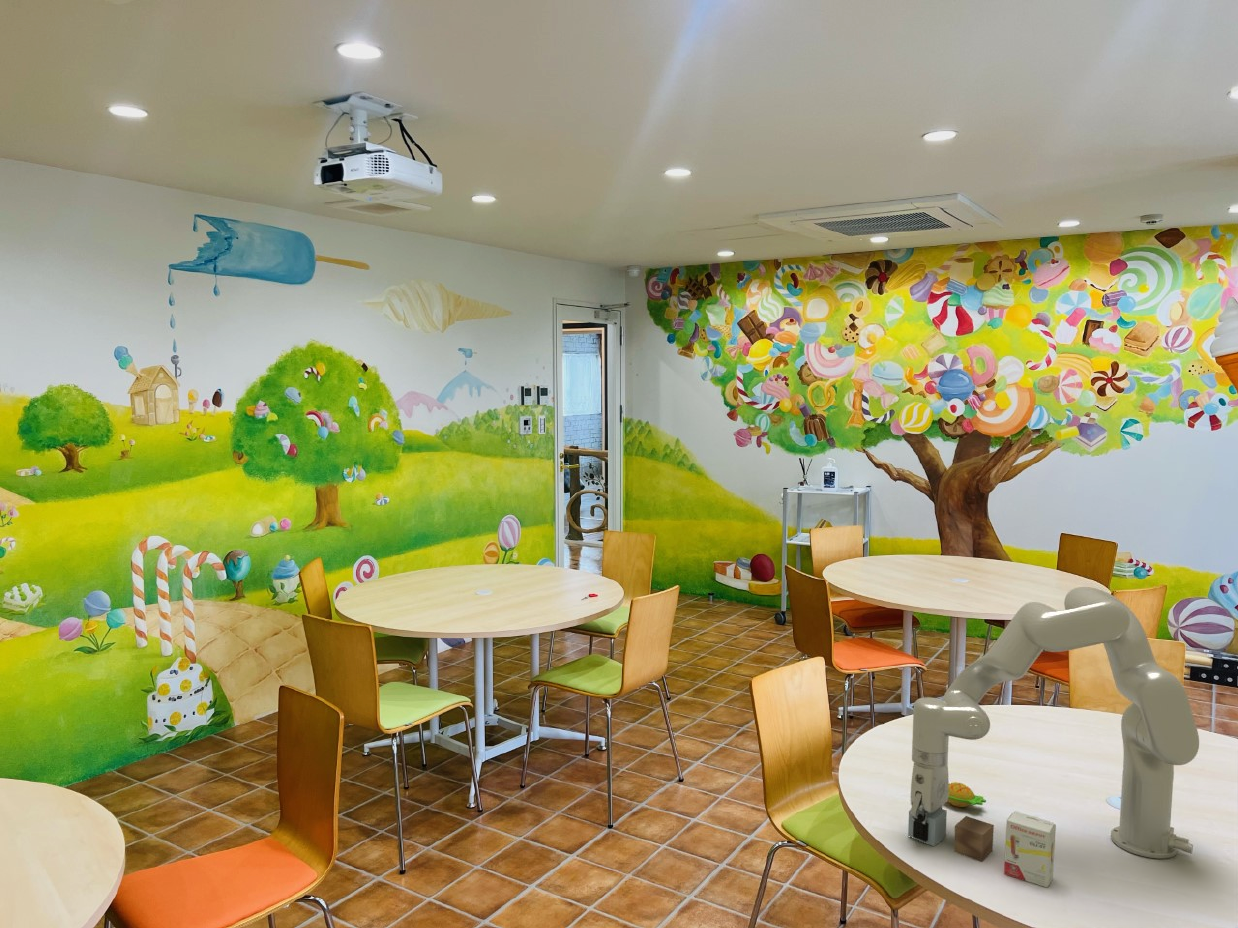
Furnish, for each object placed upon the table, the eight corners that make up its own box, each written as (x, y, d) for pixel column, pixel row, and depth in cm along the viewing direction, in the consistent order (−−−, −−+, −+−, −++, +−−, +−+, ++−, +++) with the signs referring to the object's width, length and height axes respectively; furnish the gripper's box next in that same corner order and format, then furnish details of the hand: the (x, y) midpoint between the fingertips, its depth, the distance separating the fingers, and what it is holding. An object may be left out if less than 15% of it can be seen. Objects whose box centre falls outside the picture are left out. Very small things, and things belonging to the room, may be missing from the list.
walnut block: (992, 851, 193) (993, 824, 192) (981, 862, 188) (983, 834, 188) (964, 841, 197) (966, 815, 196) (953, 851, 192) (954, 825, 192)
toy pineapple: (947, 795, 219) (948, 774, 219) (989, 808, 212) (990, 786, 212) (936, 804, 214) (937, 783, 213) (978, 818, 207) (979, 796, 207)
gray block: (945, 836, 199) (946, 810, 198) (934, 846, 194) (935, 819, 194) (919, 827, 203) (920, 801, 202) (908, 836, 198) (908, 810, 198)
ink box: (1002, 873, 184) (1005, 818, 183) (1009, 864, 187) (1011, 809, 186) (1047, 888, 178) (1050, 831, 177) (1053, 878, 182) (1056, 822, 181)
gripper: (929, 772, 188) (926, 854, 190) (962, 748, 201) (959, 825, 202) (896, 761, 193) (893, 841, 195) (930, 739, 206) (927, 814, 207)
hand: (927, 832), depth 199 cm, fingers closed on gray block, 6 cm apart
